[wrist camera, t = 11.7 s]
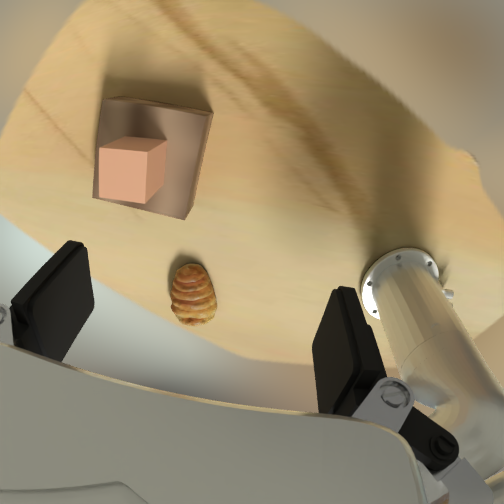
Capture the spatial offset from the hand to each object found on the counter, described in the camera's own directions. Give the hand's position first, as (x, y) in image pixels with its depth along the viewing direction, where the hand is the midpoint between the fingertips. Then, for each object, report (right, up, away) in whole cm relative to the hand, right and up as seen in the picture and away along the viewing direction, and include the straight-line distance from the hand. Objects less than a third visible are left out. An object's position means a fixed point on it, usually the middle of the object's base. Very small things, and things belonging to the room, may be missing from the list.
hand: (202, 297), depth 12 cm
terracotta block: (-10, +12, +21) cm, 26 cm away
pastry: (-7, -4, +36) cm, 37 cm away
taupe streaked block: (-10, +14, +26) cm, 31 cm away
